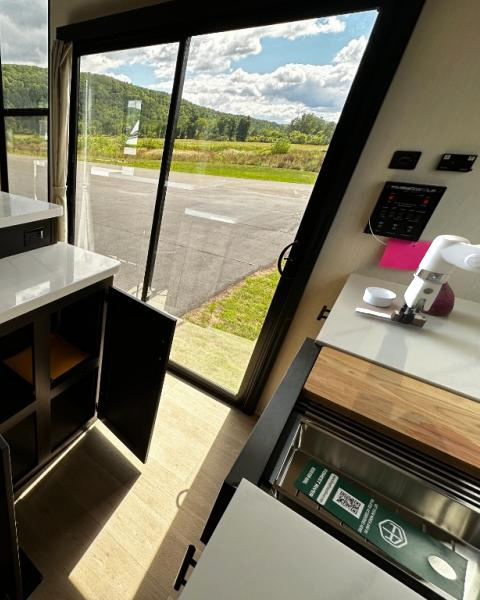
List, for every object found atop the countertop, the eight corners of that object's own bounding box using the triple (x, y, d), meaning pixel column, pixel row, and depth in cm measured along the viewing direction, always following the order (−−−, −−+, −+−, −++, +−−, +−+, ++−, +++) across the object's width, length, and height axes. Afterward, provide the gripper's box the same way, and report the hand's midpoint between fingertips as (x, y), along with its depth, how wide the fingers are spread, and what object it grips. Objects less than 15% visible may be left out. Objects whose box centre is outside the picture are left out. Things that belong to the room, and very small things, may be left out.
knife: (420, 323, 109) (425, 316, 108) (422, 327, 107) (426, 320, 106) (355, 308, 118) (358, 302, 116) (355, 312, 116) (359, 305, 114)
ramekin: (368, 307, 120) (373, 297, 118) (356, 295, 127) (361, 285, 125) (396, 309, 118) (401, 299, 116) (382, 297, 126) (387, 287, 123)
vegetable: (418, 321, 117) (431, 289, 108) (403, 303, 124) (414, 272, 116) (457, 319, 113) (473, 285, 104) (439, 301, 121) (453, 268, 112)
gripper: (455, 288, 93) (421, 336, 103) (442, 267, 105) (412, 312, 114) (421, 281, 97) (391, 329, 107) (411, 262, 108) (385, 307, 118)
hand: (402, 320), depth 110 cm, fingers closed on knife, 2 cm apart
